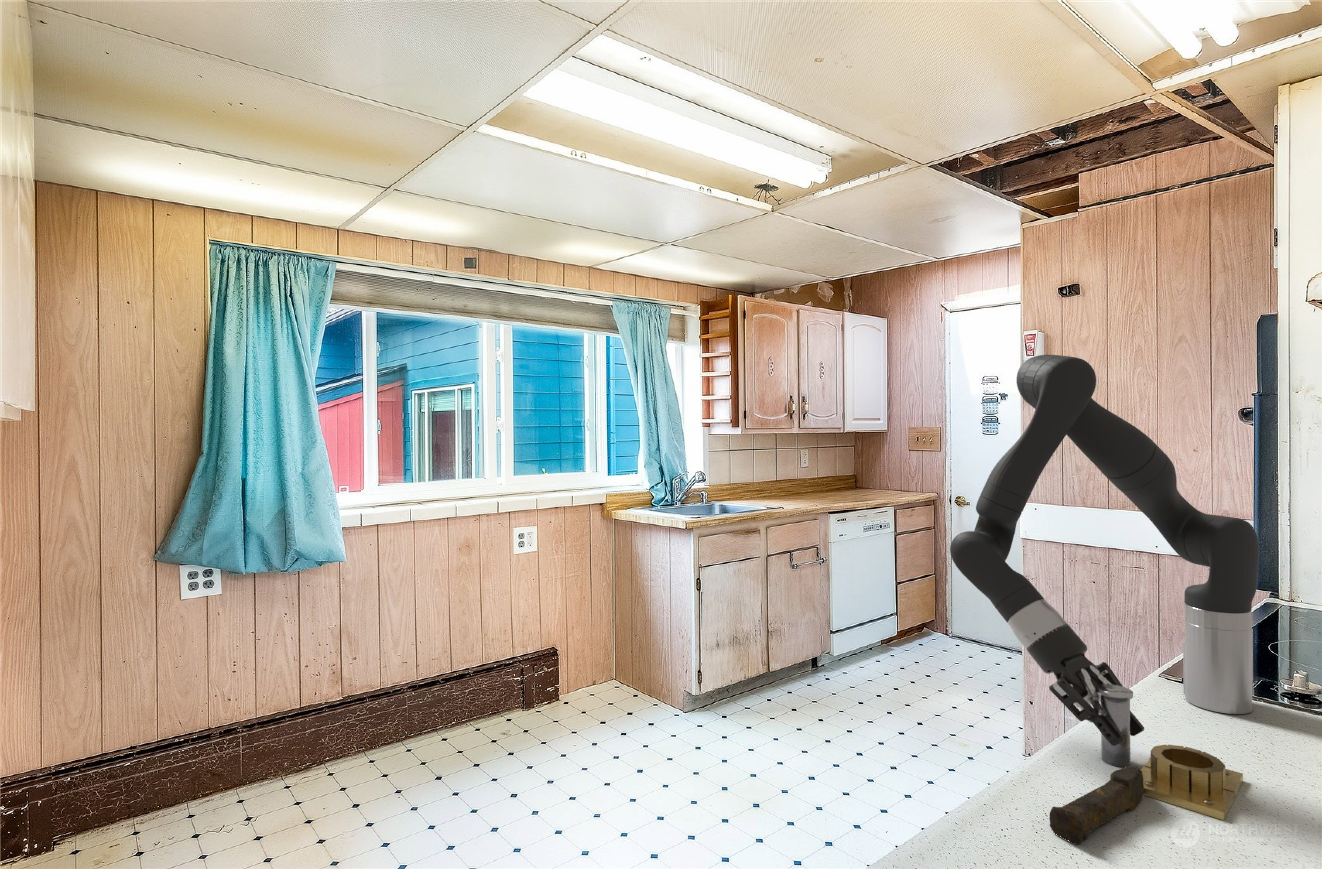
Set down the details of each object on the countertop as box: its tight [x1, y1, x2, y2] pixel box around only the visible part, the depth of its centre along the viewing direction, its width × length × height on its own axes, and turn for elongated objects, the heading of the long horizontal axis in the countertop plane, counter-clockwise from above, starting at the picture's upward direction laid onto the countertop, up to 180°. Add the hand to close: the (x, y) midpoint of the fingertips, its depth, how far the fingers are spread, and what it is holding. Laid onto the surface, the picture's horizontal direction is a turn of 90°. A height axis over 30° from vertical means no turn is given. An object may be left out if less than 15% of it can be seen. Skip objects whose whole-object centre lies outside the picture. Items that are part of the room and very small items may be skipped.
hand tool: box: [1048, 765, 1144, 845], centre depth 88 cm, size 19×4×5 cm, turn 119°
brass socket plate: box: [1140, 744, 1244, 821], centre depth 96 cm, size 14×10×4 cm
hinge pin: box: [1098, 684, 1134, 768], centre depth 103 cm, size 4×4×11 cm
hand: (1129, 737), depth 101 cm, fingers open, 5 cm apart
